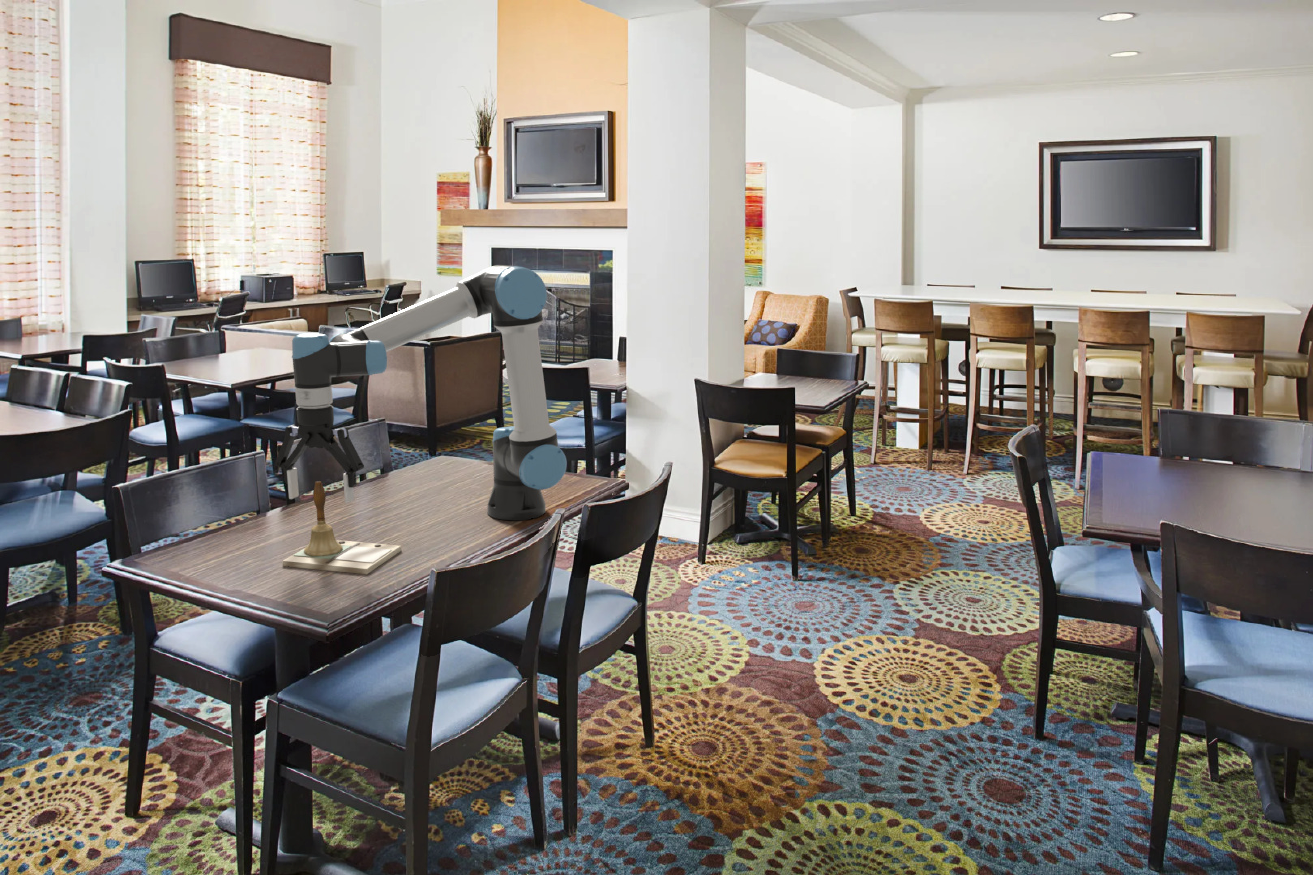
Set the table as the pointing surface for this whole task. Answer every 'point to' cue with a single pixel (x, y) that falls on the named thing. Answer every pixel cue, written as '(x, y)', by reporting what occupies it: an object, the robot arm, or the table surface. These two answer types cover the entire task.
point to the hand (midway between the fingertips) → (321, 499)
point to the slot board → (346, 558)
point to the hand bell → (321, 529)
